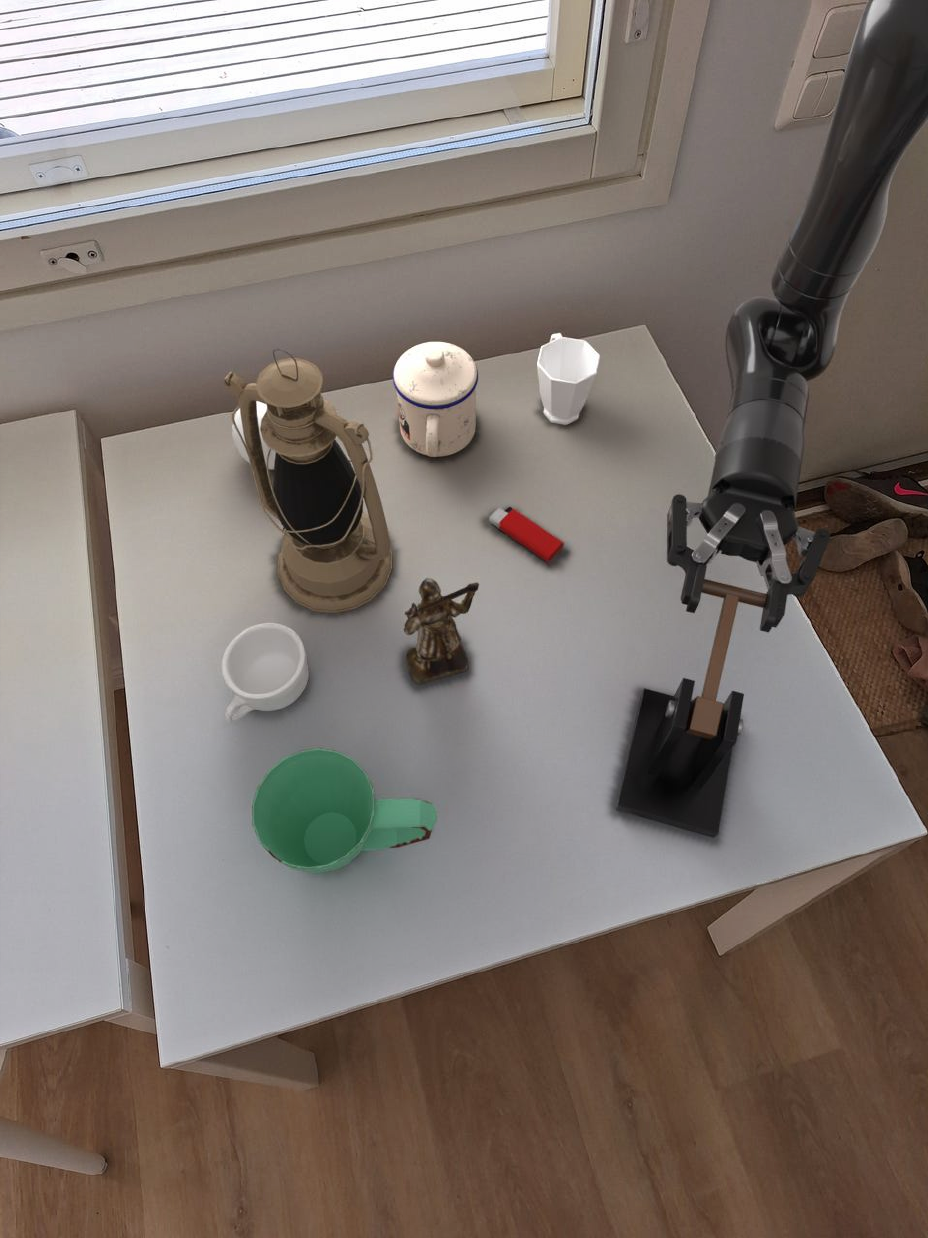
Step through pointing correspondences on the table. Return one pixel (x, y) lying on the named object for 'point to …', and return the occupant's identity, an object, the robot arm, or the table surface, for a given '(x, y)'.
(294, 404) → the lantern
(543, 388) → the cup
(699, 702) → the lever
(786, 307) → the robot arm
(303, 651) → the teacup
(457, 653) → the figurine
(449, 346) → the teacup with lid
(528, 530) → the lighter
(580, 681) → the table surface
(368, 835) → the mug
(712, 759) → the bracket
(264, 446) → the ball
